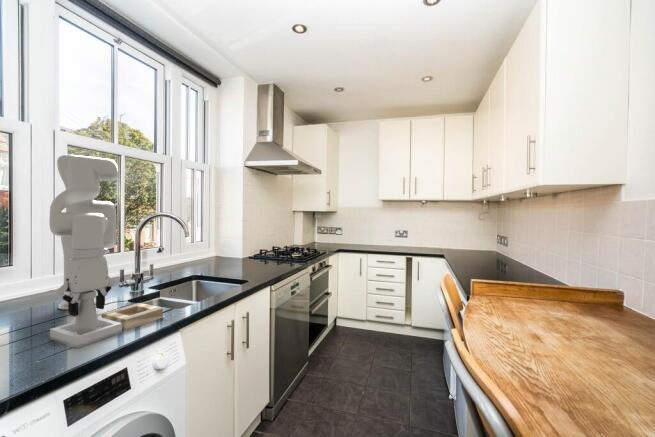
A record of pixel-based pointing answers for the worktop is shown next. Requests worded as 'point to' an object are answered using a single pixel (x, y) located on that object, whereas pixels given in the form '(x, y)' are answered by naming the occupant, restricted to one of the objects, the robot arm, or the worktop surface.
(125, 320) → the birch holder
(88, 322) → the salt shaker
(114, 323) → the grey tray
